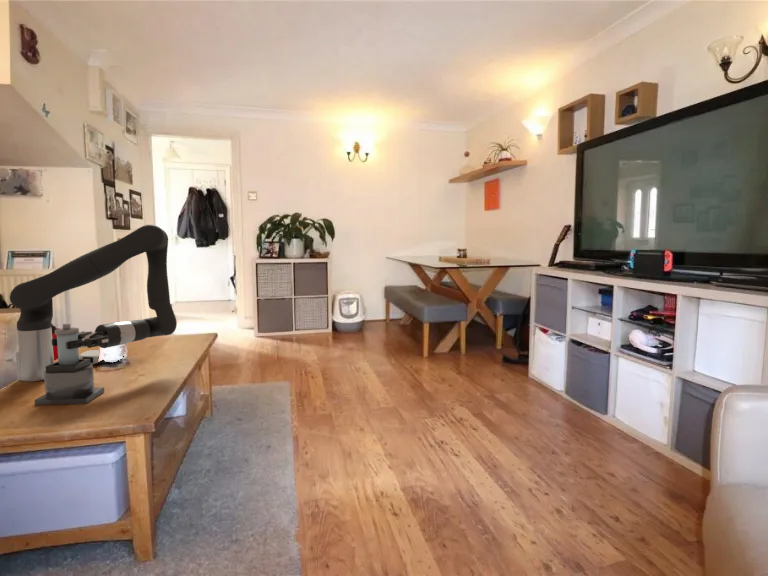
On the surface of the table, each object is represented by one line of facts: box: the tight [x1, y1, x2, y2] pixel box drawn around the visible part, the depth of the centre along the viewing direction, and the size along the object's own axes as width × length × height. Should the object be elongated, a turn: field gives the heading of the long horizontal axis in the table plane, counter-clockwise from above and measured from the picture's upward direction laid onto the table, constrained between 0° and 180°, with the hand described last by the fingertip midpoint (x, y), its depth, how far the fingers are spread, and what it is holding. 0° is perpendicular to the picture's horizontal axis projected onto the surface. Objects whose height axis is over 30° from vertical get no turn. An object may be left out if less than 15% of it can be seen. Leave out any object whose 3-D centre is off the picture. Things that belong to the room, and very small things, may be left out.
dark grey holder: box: [34, 359, 105, 406], centre depth 134 cm, size 14×14×11 cm
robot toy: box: [79, 349, 99, 366], centre depth 172 cm, size 12×4×15 cm
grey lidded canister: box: [54, 323, 80, 366], centre depth 132 cm, size 6×6×14 cm
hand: (59, 344), depth 130 cm, fingers open, 7 cm apart
